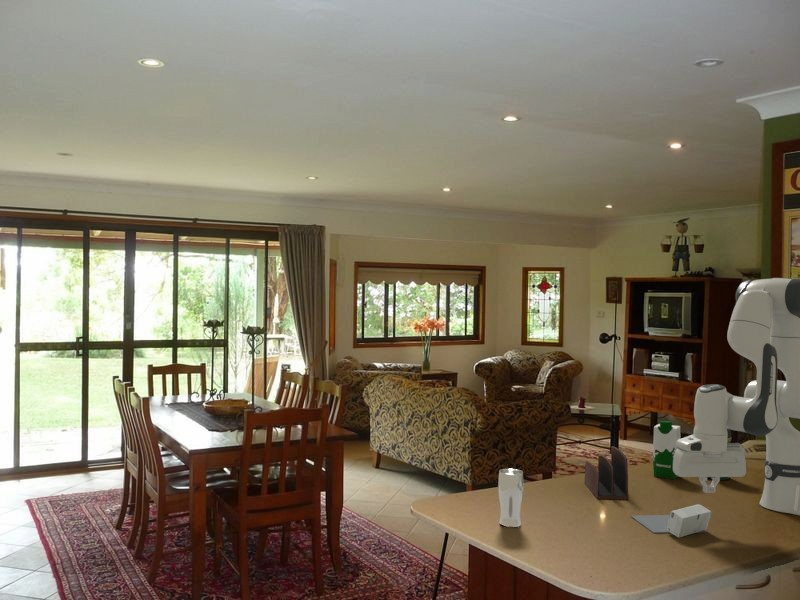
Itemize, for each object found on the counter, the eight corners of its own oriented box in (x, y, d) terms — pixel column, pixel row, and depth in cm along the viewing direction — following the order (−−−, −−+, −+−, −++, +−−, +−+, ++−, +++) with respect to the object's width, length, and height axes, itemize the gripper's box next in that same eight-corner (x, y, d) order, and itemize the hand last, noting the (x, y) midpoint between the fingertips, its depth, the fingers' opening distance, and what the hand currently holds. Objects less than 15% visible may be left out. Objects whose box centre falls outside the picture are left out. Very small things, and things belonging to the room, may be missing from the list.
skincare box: (707, 530, 204) (679, 539, 197) (693, 521, 207) (665, 530, 201) (712, 510, 202) (683, 519, 196) (698, 502, 206) (670, 510, 199)
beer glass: (503, 529, 202) (504, 475, 202) (493, 521, 209) (494, 469, 209) (526, 527, 204) (527, 473, 204) (516, 520, 211) (517, 467, 211)
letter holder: (613, 484, 254) (614, 443, 253) (628, 500, 234) (629, 456, 234) (584, 483, 254) (584, 442, 254) (596, 499, 234) (597, 455, 234)
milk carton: (650, 476, 264) (651, 421, 264) (656, 471, 272) (657, 417, 272) (676, 480, 260) (677, 423, 259) (681, 475, 267) (682, 420, 267)
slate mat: (679, 515, 218) (679, 514, 218) (705, 532, 203) (705, 531, 203) (630, 516, 216) (630, 515, 216) (653, 533, 201) (653, 532, 201)
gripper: (738, 440, 211) (737, 488, 211) (670, 440, 209) (669, 489, 209) (751, 445, 205) (750, 494, 205) (681, 445, 203) (680, 495, 203)
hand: (708, 492), depth 207 cm, fingers closed
